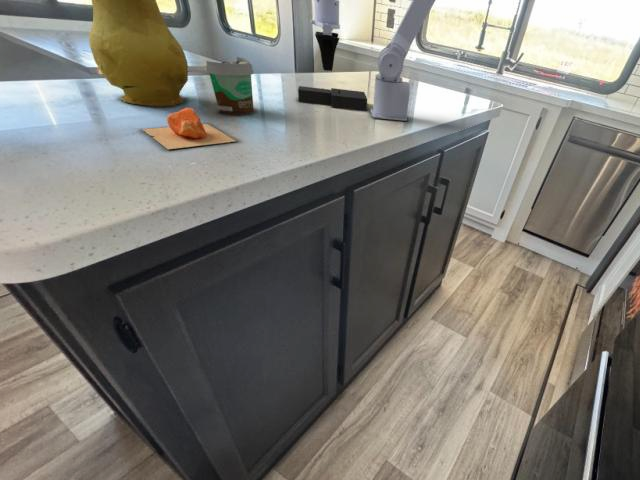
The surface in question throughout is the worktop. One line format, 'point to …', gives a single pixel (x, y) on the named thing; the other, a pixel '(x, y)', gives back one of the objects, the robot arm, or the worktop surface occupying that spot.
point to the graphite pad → (349, 99)
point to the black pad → (315, 95)
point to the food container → (232, 86)
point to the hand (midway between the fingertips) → (327, 68)
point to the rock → (186, 131)
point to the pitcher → (138, 52)
